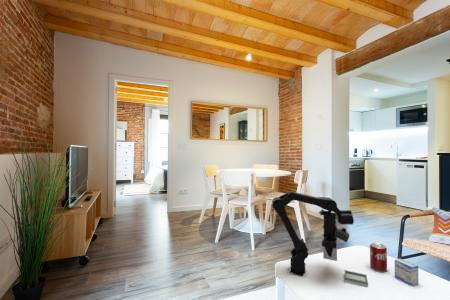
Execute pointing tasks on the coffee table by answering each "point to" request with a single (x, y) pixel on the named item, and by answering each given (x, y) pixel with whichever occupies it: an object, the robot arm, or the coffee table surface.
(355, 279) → the grey green tray
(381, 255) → the soda can
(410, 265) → the medicine box
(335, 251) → the billet
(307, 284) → the coffee table surface
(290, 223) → the robot arm
